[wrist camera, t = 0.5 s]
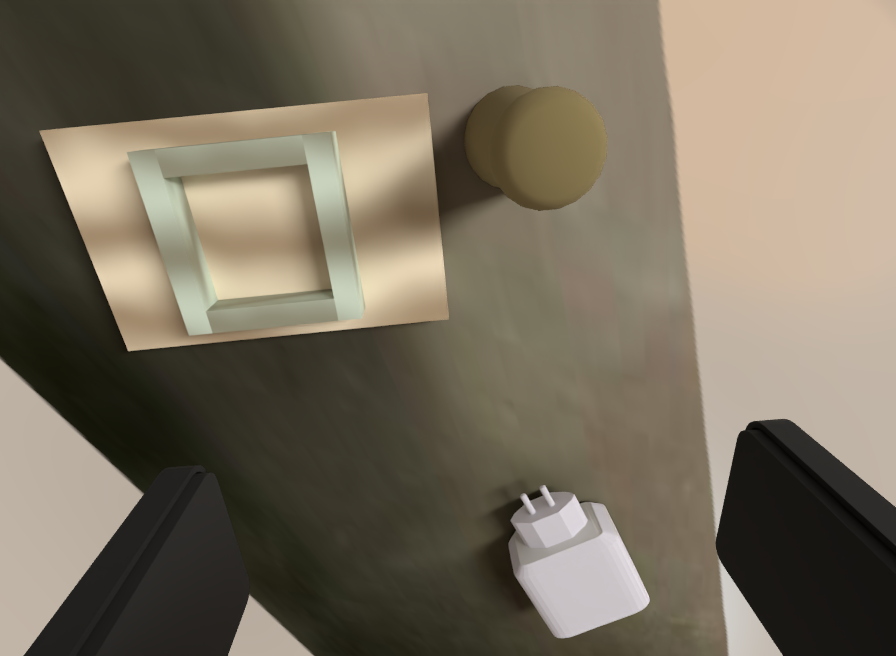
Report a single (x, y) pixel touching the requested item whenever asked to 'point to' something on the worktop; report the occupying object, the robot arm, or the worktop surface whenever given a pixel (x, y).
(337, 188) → the socket board
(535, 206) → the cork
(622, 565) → the charger
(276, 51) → the worktop surface
